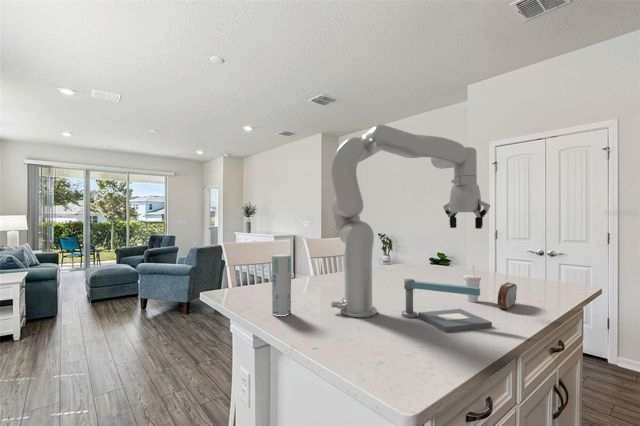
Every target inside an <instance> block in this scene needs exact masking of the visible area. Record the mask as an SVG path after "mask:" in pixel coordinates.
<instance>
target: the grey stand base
mask: <svg viewBox="0 0 640 426" xmlns="http://www.w3.org/2000/svg"><path fill="white" fill-rule="evenodd" d="M401 317H403V318H406V319H407V318H408V319H417V318H419V319H421V320H423V321H425V322H426V323H428V324H429V325H432V326H433V327H435V328H437V329H438V330H441V331H442V332H444V333H449V332H450V333H453V332H462V331H469V330H471V331H472V330H477V329H488V328H493V322H492V321H490V320H488V319H485V318H483V317H481V316H478V315H475V314H473V313H471V312H469V311H466V310H464V309H461V308H454V309H452V308H451V309H443V310H441V309H440V310H432V311H419V312H417V311H414V289H413V290H407V289H405V310H402V311H401Z"/></svg>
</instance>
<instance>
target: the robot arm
mask: <svg viewBox="0 0 640 426" xmlns="http://www.w3.org/2000/svg"><path fill="white" fill-rule="evenodd" d="M381 151H383V152H386V153H390V154H393V155H396V156H399V157H402V158H405V159H418V158H430V163H431V164H432V165H433V167H435V168H437V169H443V170H444V169H451V168H452V169H453V176H454V177H453V179H452V180H451V184H453V185H452V186H451V190H450V195H449V202H448V203H446V204H444V205H443V207H442V208H443V209H444V212H445V214H446V215H447V217H448V218H449V228H451V229H456V228H457V217H456V216H457V214H458V213H474V215H475V216H476V217H475V218H474V220H475V221H474V224H475V225H474V226H475V227H474V228H475V229H476V230H480V229H482V228H483V221H484V220H483V218H484V217H485V215H486V214H488V212H489V209H490V208H491V204H489V203H486V202H485V201H483V200H482V197H481V190H480V186H479V184H477V181H478V176H477V174H478V172H477V171H478V170H477V169H478V168H477V165H478V164H477V163H478V161H477V160H478V159H477V155H478V153H477V149H476V148H475V147H472V146H471V147H470V146H467V147H466V146H464V145H463V144H462V143H460V142H457V141H455V140H453V139H448V138H446V137H442V136H435V135H424V134H415V133H411V132H409V131H405V130H402V129H398V128H395V127H392V126H389V125H385V124H377V125H374V126H373V127H371V128H370V129H369V130H368V131H367V132H365V133H364V134H362V135H360V136H359V137H357V136H353V137H351V136H350V137H349V138H347V139H346V140H345V141H344V142H342V143H341V144H340V145H339V147H338V148H337V150H336V152H335V153H334V156H333V158H332V162H331V168H330V169H331V170H330V171H331V172H330V174H331V181H332V185H333V189H334V194H335V197H334V198H333V200H332V203H331V204H332V207H331V208H332V209H331V210H332V213H333V214H332V215H333V219H334V221H335V224H336V225H335V226H336V229H337V233H338V237H339V239H340V241H341V242H342V243H343V244H345V247H344V267H343V268H344V297H341V300H339V301H331V302H330V305H331V308H337V310H338V309H339V310H340V311H339V312H340V313H341V314H342V315H344V316H346V315H347V317H351V318H369V317H374V316H375V315H376V314H377V313H378V308H376V306H373V248H374V241H375V236H374V235H375V234H374V231H373V228H372V227H371V225H370V224H369V223H367V222H365V221H363V220H361V217H360V215H361V213H362V212H363V210H364V201H363V197H362V193H361V190H360V186H359V182H358V177H357V176H358V175H357V169H358V168H357V167H358V165H359V163H360V162H362V161H364V160H367V159H369V158H371V157H372V156H373V155H375V154H377V153H378V152H381ZM482 207H483V209H482Z"/></svg>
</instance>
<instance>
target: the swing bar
mask: <svg viewBox="0 0 640 426" xmlns="http://www.w3.org/2000/svg"><path fill="white" fill-rule="evenodd" d="M403 282H404V285H403V287H404V290H406V289H407V290H413V291H414V290H415V289H416V290H424V291H433V292H441V293H451V294H459V295H460V294H461V295H466V294H467V295H476V296H478V297H480V295H481V287H480V286H479V287H470V286H465V285H459V284H448V283H439V282H429V281H428V282H427V281H421V280H420V281H418V280H415V279H414V278H404V280H403Z"/></svg>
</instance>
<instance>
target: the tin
mask: <svg viewBox="0 0 640 426" xmlns="http://www.w3.org/2000/svg"><path fill="white" fill-rule="evenodd" d="M517 290H518V287H517V284H516V283H512V282H506V283H504V284H501V285H500V287H499V290H498V294H497V307H498V309H503V310H509V309H511V308H512V307H513V306H515V304H516V301H517Z"/></svg>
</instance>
